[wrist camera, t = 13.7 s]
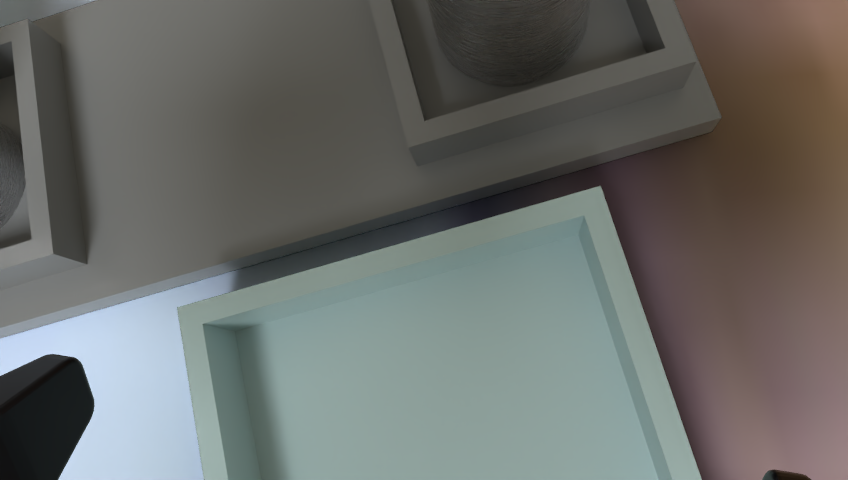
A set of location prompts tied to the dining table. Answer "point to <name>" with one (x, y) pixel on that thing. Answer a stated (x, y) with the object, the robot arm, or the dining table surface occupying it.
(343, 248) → the dining table surface
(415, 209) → the tray
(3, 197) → the billet
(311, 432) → the tote
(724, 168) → the dining table surface
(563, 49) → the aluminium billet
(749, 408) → the dining table surface
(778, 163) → the dining table surface
